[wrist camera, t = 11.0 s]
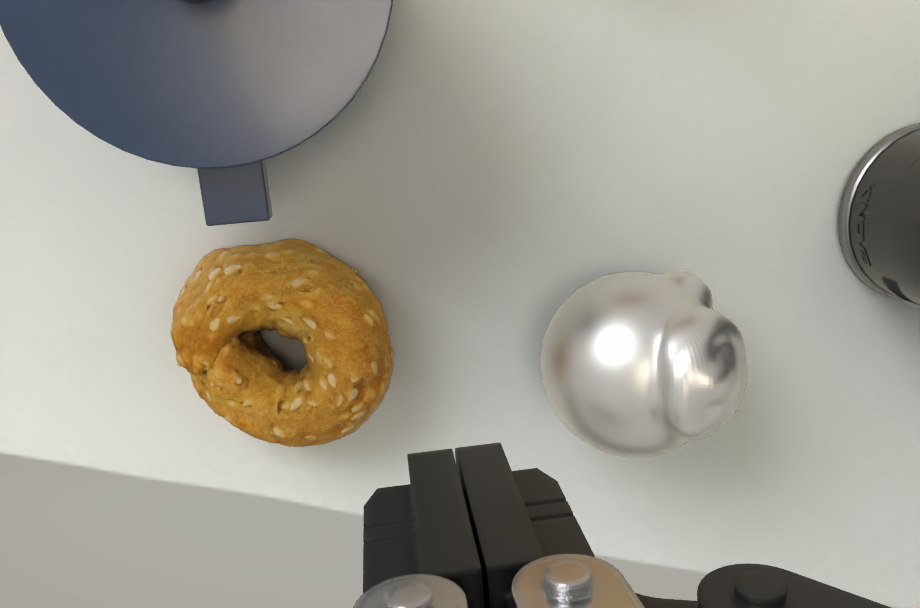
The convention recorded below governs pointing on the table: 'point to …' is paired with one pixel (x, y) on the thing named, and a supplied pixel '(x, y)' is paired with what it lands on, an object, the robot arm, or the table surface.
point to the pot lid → (198, 70)
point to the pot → (235, 194)
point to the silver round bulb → (642, 363)
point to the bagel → (294, 316)
